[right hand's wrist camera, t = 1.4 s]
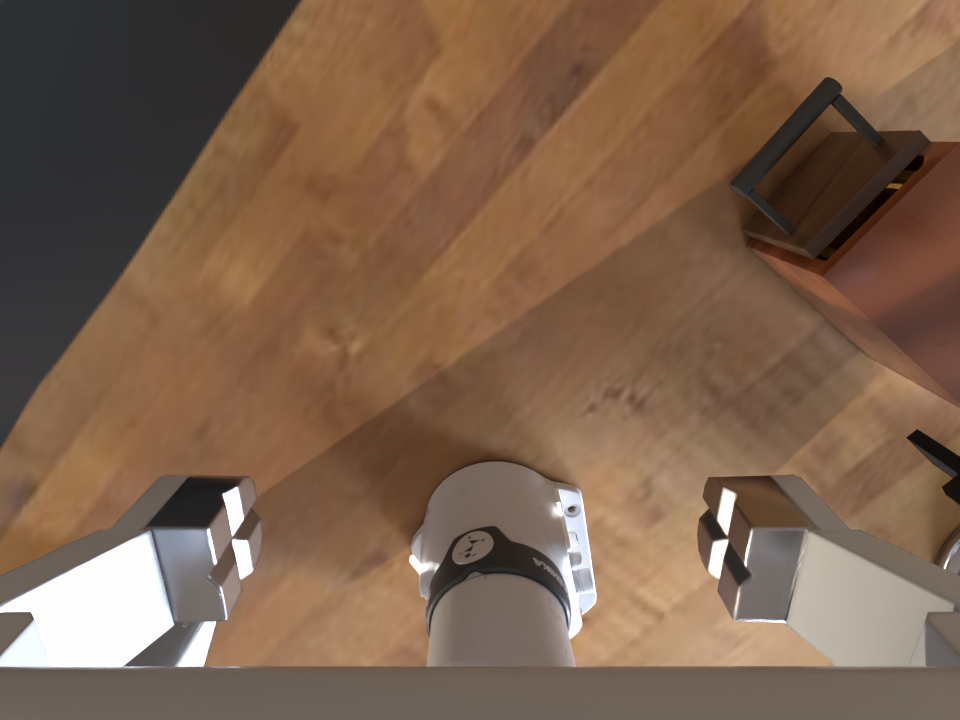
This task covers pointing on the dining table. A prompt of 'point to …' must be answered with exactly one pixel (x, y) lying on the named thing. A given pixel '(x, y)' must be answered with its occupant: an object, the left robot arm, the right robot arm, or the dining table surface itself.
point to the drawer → (827, 178)
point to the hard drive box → (178, 646)
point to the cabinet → (895, 277)
